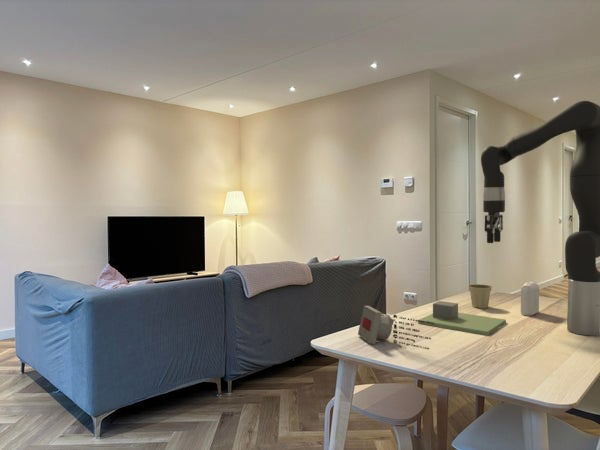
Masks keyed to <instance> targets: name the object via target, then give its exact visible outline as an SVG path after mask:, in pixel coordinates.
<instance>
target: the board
mask: <svg viewBox="0 0 600 450" xmlns="http://www.w3.org/2000/svg"><path fill="white" fill-rule="evenodd" d="M418 320H419V321H418ZM418 320H417V323H418V324H420V325H426V326H432V327H436V328H442V329H450V330H455V331H461V332H466V333H473V334H478V335H483V336H489V335H491V334H492V333H494V332H495V331H497V330H498V329H499V328H500V327H502V326H504V325H505V324H506V323H507V319H505V318H496V317H491V316H484V315H479V314H478V315H477V314H471V313H470V314H469V313H464V312H458V317H457V318H455V319H453V320H447V319H441V318H435V317H433V313H430V314H429V315H426V316H424V317H421V318H419V319H418ZM420 320H421V321H420ZM422 321H425V322H424V323H422ZM426 321H428V323H427V322H426ZM429 322H433V323H434V325H433V324H429Z"/></svg>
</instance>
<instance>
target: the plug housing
mask: <svg viewBox="0 0 600 450" xmlns="http://www.w3.org/2000/svg"><path fill="white" fill-rule="evenodd" d="M458 313H459V303H456V302H450V301H449V302H448V301H442V300H438V301H436V302H433V304H432V314H433V317H435V318H441V319H447V320H453V319H455V318H457V317H458Z"/></svg>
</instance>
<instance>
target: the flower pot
mask: <svg viewBox="0 0 600 450" xmlns="http://www.w3.org/2000/svg"><path fill="white" fill-rule="evenodd" d="M467 287H468V290H469V293H470V300H471V306H472V307H473V308H479V309H487V308H489V304H490V296H491V291H492V289H493V286H492V285H488V284H480V283H479V284H477V283H476V284H468V285H467Z"/></svg>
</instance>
